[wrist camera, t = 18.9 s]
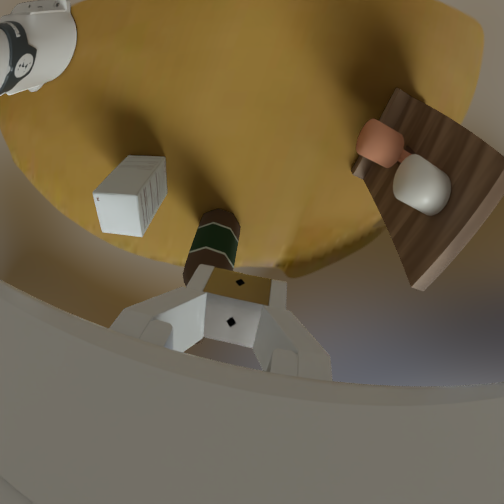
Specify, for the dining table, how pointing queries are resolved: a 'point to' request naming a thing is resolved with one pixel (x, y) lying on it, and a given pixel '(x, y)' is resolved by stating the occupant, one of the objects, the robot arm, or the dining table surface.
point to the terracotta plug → (381, 144)
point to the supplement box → (131, 195)
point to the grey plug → (421, 185)
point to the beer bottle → (213, 244)
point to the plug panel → (462, 187)
